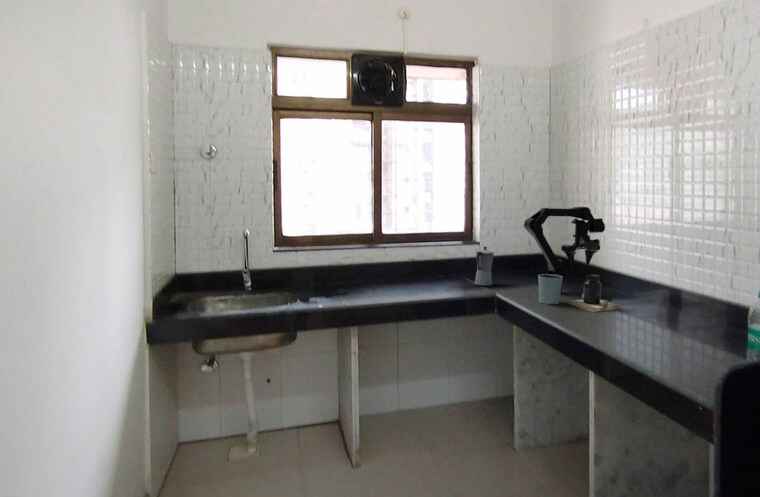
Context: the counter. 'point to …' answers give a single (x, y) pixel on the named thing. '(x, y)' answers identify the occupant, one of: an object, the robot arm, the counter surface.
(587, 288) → the supplement bottle
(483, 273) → the moka pot
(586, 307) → the locating pad
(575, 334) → the counter surface
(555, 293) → the teal tapered cup
